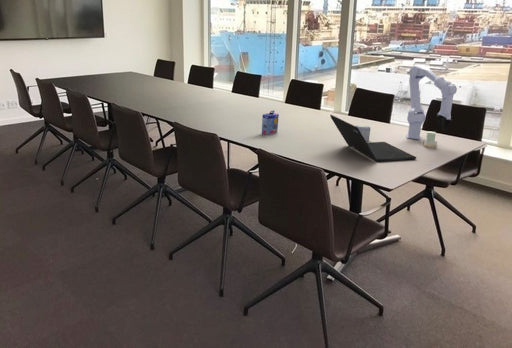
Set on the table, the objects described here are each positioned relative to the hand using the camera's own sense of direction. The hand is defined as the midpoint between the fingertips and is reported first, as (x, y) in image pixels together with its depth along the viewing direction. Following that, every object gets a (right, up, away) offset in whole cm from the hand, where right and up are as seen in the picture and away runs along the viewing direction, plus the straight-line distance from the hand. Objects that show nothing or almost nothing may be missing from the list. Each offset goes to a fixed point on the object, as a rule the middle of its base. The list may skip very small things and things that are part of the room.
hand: (442, 129), depth 277 cm
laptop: (-46, -15, -14) cm, 50 cm away
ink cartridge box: (-100, -1, +20) cm, 102 cm away
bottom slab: (-6, -10, +4) cm, 13 cm away
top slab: (-6, -8, +4) cm, 11 cm away
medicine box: (-45, -6, +11) cm, 46 cm away
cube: (-6, -6, +3) cm, 9 cm away
